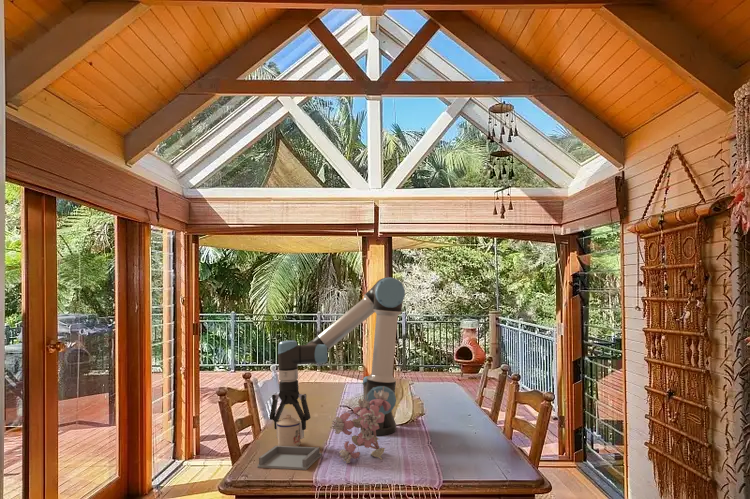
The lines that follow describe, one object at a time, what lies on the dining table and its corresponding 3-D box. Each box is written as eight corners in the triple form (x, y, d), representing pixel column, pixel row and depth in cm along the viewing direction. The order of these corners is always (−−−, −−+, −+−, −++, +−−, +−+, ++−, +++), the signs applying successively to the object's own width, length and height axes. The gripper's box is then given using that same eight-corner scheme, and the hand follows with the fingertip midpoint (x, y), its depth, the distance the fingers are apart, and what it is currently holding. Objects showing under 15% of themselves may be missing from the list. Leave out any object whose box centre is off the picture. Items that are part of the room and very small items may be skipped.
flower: (338, 442, 217) (327, 389, 208) (396, 435, 217) (387, 381, 207) (336, 482, 199) (324, 426, 189) (399, 474, 198) (390, 418, 189)
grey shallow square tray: (321, 455, 207) (321, 446, 208) (306, 469, 192) (305, 460, 192) (276, 453, 212) (276, 444, 212) (257, 467, 196) (257, 458, 196)
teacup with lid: (298, 448, 216) (297, 417, 217) (275, 449, 217) (274, 418, 217) (304, 439, 228) (303, 410, 229) (282, 440, 229) (281, 410, 229)
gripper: (259, 381, 222) (261, 439, 221) (311, 382, 217) (313, 441, 216) (267, 378, 230) (269, 434, 229) (317, 378, 225) (319, 435, 223)
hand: (290, 437), depth 222 cm, fingers closed on teacup with lid, 9 cm apart
